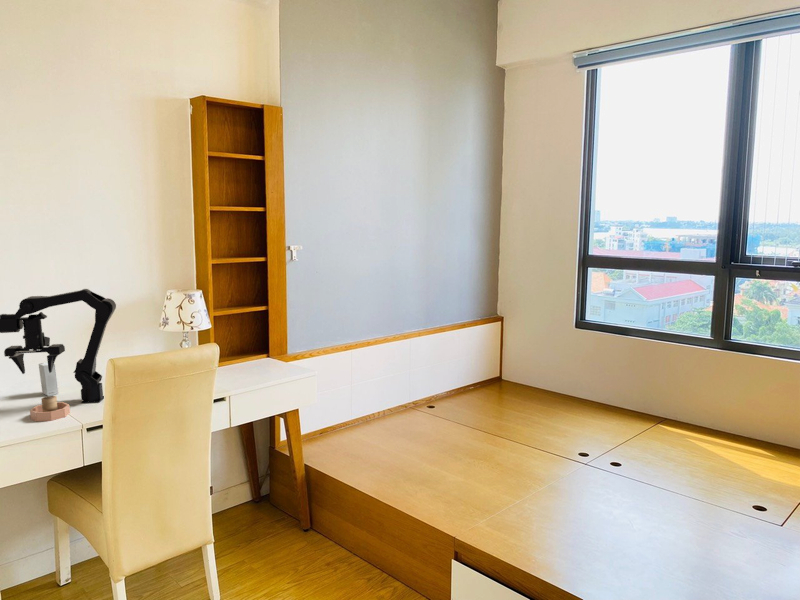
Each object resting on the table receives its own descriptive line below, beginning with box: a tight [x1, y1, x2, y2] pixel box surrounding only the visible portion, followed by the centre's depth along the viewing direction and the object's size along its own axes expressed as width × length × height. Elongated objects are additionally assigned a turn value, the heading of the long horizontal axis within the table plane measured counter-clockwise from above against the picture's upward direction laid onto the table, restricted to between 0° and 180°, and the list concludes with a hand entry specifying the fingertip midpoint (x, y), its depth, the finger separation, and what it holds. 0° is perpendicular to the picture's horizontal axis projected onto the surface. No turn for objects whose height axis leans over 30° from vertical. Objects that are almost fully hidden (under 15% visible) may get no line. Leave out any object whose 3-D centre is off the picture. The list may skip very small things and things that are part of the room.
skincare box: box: [38, 361, 59, 397], centre depth 246 cm, size 6×4×12 cm
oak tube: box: [41, 395, 58, 412], centre depth 220 cm, size 5×5×7 cm
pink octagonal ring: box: [29, 401, 71, 422], centre depth 220 cm, size 11×11×3 cm
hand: (37, 373), depth 231 cm, fingers open, 9 cm apart
